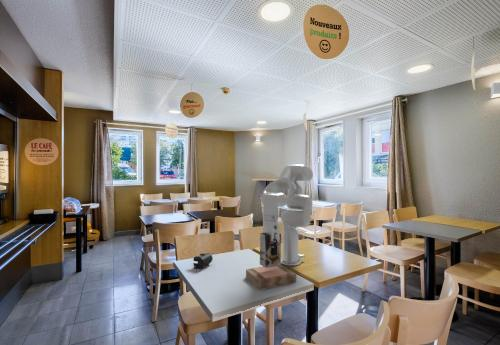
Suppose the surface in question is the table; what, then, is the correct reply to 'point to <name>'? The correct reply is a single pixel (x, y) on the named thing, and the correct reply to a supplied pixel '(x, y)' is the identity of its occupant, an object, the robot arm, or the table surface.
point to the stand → (270, 276)
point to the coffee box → (269, 252)
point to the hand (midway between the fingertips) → (270, 252)
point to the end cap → (202, 260)
